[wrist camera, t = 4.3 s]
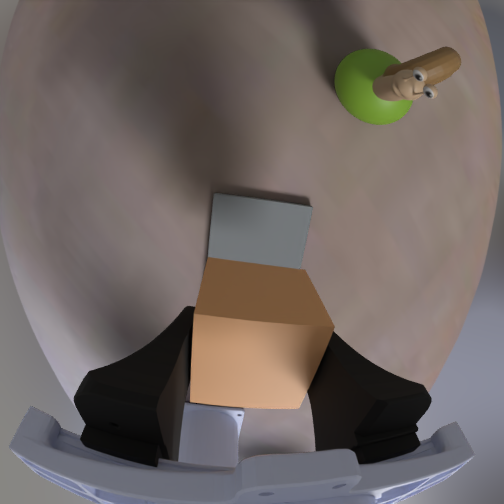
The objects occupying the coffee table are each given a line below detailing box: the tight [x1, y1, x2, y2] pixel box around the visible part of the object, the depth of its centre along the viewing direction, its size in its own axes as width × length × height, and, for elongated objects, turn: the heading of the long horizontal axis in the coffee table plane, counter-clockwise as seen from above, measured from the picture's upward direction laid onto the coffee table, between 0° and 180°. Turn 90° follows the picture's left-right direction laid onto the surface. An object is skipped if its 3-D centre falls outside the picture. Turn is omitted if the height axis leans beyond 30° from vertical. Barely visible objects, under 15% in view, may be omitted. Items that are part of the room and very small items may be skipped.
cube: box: [190, 257, 335, 409], centre depth 12 cm, size 5×5×5 cm
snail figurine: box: [335, 47, 461, 125], centre depth 11 cm, size 5×6×12 cm
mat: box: [208, 193, 313, 269], centre depth 20 cm, size 9×7×1 cm
